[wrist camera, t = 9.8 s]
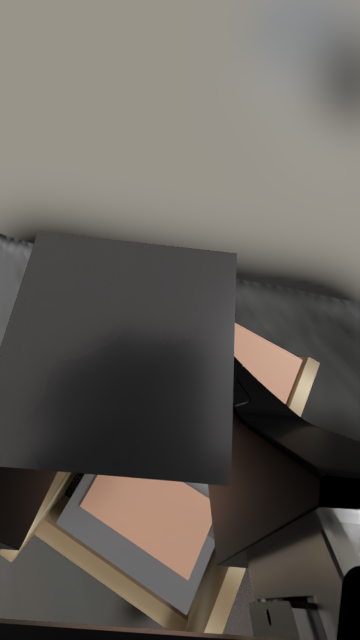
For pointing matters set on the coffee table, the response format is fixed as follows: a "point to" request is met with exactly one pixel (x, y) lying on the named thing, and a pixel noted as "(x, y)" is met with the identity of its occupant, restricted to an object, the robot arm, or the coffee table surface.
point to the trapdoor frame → (204, 610)
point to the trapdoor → (166, 502)
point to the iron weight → (120, 361)
